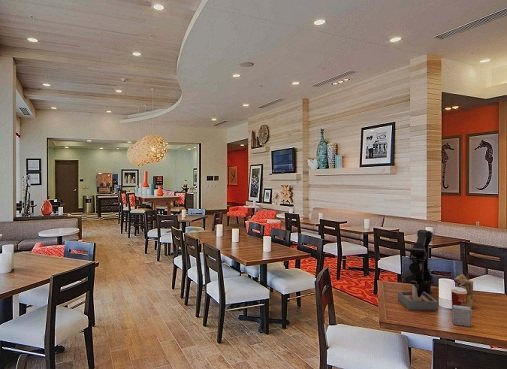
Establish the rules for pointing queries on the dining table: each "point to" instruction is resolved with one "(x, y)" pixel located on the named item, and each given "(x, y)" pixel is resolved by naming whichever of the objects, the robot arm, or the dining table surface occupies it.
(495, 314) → the dining table surface
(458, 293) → the paper cup
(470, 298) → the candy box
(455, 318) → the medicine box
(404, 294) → the bin
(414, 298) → the peg
